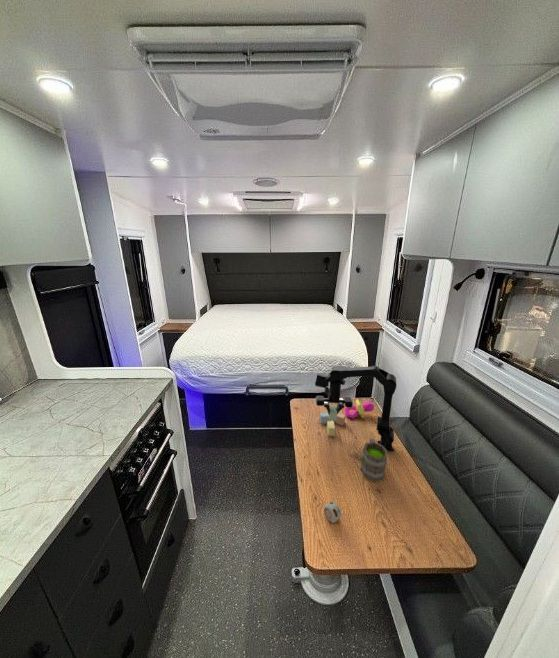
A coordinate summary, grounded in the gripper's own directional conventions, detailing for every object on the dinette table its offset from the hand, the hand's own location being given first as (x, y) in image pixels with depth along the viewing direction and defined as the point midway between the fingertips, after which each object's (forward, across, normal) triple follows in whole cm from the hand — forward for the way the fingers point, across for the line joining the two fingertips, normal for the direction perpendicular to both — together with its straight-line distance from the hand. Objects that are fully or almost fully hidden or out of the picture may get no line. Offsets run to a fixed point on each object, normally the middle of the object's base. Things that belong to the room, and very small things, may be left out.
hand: (332, 414), depth 139 cm
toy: (+11, -19, -17) cm, 28 cm away
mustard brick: (+11, 0, 0) cm, 11 cm away
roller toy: (+11, +6, +48) cm, 50 cm away
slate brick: (+12, +2, -9) cm, 15 cm away
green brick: (+1, 0, 0) cm, 1 cm away
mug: (+11, -16, +23) cm, 30 cm away
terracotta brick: (+11, -6, -9) cm, 16 cm away
